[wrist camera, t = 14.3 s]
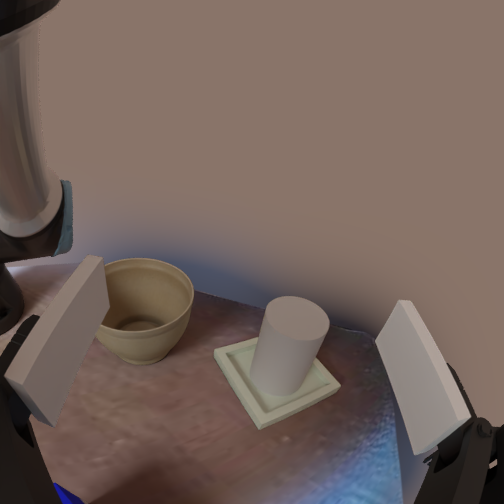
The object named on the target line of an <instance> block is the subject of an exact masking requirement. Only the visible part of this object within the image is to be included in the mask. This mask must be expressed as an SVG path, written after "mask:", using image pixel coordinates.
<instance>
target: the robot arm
mask: <svg viewBox="0 0 504 504" xmlns="http://www.w3.org/2000/svg"><path fill="white" fill-rule="evenodd" d="M60 1H61V0H0V335H1V334H3V333H4V332H6V331H7V330H9V329H10V328H11V327H12V326H13V325H14V324H15V323H16V322H17V321H18V320H19V318H20V316H21V315H22V312H23V309H24V298H23V295H22V292H21V289H20V287H19V285H18V284H17V283H16V281H15V280H14V278H13V277H12V275H11V274H10V272H9V271H8V270H7V268H6V266H5V264H4V263H8V262H14V261H21V260H27V259H33V258H40V257H46V256H51V257H54V256H56V255H58V254H63V253H67V252H68V251H69V250H70V249H71V247H72V243H73V227H72V225H73V224H72V223H73V222H72V221H73V204H72V186H71V183H70V182H69V181H64V180H60V179H59V178H58V176H57V174H56V173H55V172H54V171H53V170H52V169H51V168H49V167H47V161H46V155H45V149H44V141H43V133H42V125H41V113H40V100H39V78H38V77H39V74H38V61H39V59H38V58H39V57H38V56H39V34H40V23H41V22H42V21H43V20H44V19H45V18H46V17H47V16H48V15H49V14H50V13H51V12H52V11H53V10H55V9H56V7H57V6H58V5H59V3H60ZM109 308H110V305H109V298H108V292H107V285H106V277H105V269H104V261H103V257H99V256H93V255H87V256H86V257H85V259H84V260H83V261H82V262H81V264H80V265H79V266H78V267H77V269H76V270H75V271H74V272H73V274H72V275H71V276H70V277H69V279H68V280H67V281H66V283H65V284H64V285H63V287H62V288H61V289H60V291H59V292H58V293H57V295H56V296H55V297H54V299H53V300H52V301H51V303H50V304H49V306H48V307H47V308H46V310H45V311H44V313H43V314H42V316H41V317H40V316H37V315H34V314H33V315H32V316H30V317H29V318H28V319H26V320H25V321H24V322H23V323H22V324H21V326H20V327H19V328H18V330H17V331H16V334H14V336H13V337H12V339H11V342H9V343H8V345H7V347H6V348H5V350H4V351H3V353H2V355H1V356H0V504H63V503H62V501H61V499H60V497H59V495H58V493H57V491H56V488H55V486H54V484H53V482H52V480H51V477H50V475H49V473H48V470H47V468H46V465H45V463H44V460H43V458H42V455H41V452H40V449H39V447H38V444H37V441H36V438H35V435H34V432H33V428H32V425H31V423H30V421H29V417H30V414H31V413H32V414H33V416H34V417H35V418H36V419H37V420H38V421H40V422H42V423H45V424H47V425H49V426H51V427H54V428H55V425H56V423H57V420H58V417H59V415H60V412H61V410H62V407H63V405H64V402H65V400H66V398H67V395H68V393H69V390H70V388H71V386H72V384H73V381H74V379H75V377H76V375H77V372H78V370H79V368H80V366H81V364H82V361H83V359H84V357H85V355H86V353H87V351H88V349H89V347H90V345H91V343H92V341H93V339H94V337H95V335H96V333H97V331H98V329H99V327H100V325H101V323H102V321H103V319H104V317H105V315H106V313H107V311H108V310H109ZM375 342H376V345H377V347H378V350H379V352H380V355H381V358H382V360H383V363H384V366H385V368H386V371H387V374H388V376H389V379H390V382H391V385H392V387H393V390H394V393H395V396H396V399H397V402H398V405H399V407H400V411H401V414H402V417H403V420H404V423H405V426H406V430H407V433H408V436H409V439H410V443H411V446H412V449H413V453H414V455H418V454H421V453H425V452H428V451H429V450H430V449H432V448H434V447H435V446H436V445H437V446H438V450H437V451H436V452H434V453H433V454H431V455H430V456H429V457H427V458H426V459H425V460H424V461H423V463H426V462H427V461H429V460H430V459H432V461H431V462H429V463H428V464H427V465H429V469H428V472H427V474H426V476H425V479H424V481H423V484H422V486H421V488H420V491H419V493H418V495H417V497H416V500H415V502H414V504H504V424H503V425H502V426H501V427H492V426H491V424H490V423H489V421H487V420H486V419H485V418H481V417H480V418H477V416H476V414H475V412H474V409H473V407H472V405H471V403H470V401H469V398H468V396H467V394H466V392H465V390H463V386H462V384H461V383H460V380H459V378H458V376H457V374H456V372H455V370H454V369H453V368H452V367H451V366H450V365H449V364H448V363H446V362H445V360H444V358H443V356H442V354H441V353H440V351H439V349H438V347H437V345H436V344H435V342H434V340H433V338H432V336H431V334H430V332H429V331H428V329H427V327H426V325H425V324H424V322H423V320H422V319H421V317H420V315H419V313H418V312H417V310H416V309H415V307H414V305H413V304H412V302H411V301H406V300H398V302H397V304H396V306H395V308H394V309H393V311H392V313H391V315H390V317H389V319H388V320H387V322H386V324H385V326H384V327H383V329H382V330H381V332H380V334H379V335H378V337H377V339H376V340H375ZM496 459H497V465H496V466H494V467H493V468H491V469H490V468H489V464H490V463H492V462H493V461H494V460H496Z"/></svg>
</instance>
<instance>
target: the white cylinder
mask: <svg viewBox="0 0 504 504" xmlns="http://www.w3.org/2000/svg"><path fill="white" fill-rule="evenodd" d="M328 329H329V319H328V317H327V315H326V313H325V312H324V311H323V310H322V309H321V308H320V307H319V306H318V305H316V304H315V303H313V302H311V301H309V300H306V299H304V298H300V297H294V296H283V297H279V298H276V299H274V300H273V301H271V302H270V303H269V304H268V305H267V307H266V311H265V315H264V318H263V322H262V326H261V330H260V334H259V337H258V341H257V345H256V349H255V352H254V356H253V360H252V363H251V367H250V378H251V380H252V382H253V384H254V385H255V386H256V387H257V388H258V389H259V390H260V391H262V392H264V393H266V394H268V395H271V396H277V397H283V396H288V395H291V394H293V393H295V392H296V391H297V390H298V389H299V388H300V387H301V385H302V383H303V381H304V379H305V377H306V375H307V373H308V371H309V369H310V367H311V365H312V363H313V361H314V359H315V357H316V355H317V353H318V351H319V348H320V346H321V344H322V342H323V340H324V338H325V336H326V333H327V331H328Z"/></svg>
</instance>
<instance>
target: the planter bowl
mask: <svg viewBox="0 0 504 504" xmlns="http://www.w3.org/2000/svg"><path fill="white" fill-rule="evenodd" d="M104 269H105V277H106V285H107V292H108V298H109V305H110V308H109V310H108V311H107V313H106V315H105V317H104V319H103V321H102V323H101V325H100V327H99V329H98V331H97V333H96V335H95V336H96V337H97V339H98V340H99V341H100V342H101V343H102V344H103V345H104V346H105V347H106V348H107V349H109V350H110V351H111V352H113V353H114V354H116V355H118V356H119V357H120V358H121V359H123V360H124V361H126V362H128V363H131V364H135V365H148V364H153V363H155V362H158V361H159V360H161V359H162V358H164V357H165V356H166V355H167V354H168V352H169V350H170V349H172V348H173V347H174V346H175V345H176V343H177V342H178V341H179V339H180V338H181V336H182V335H183V333H184V331H185V329H186V327H187V324H188V321H189V318H190V314H191V307H192V304H193V300H194V288H193V285H192V282H191V280H190V279H189V277H188V276H187V275H186V274H185V273H184V272H183V271H182V270H180V269H179V268H177V267H175V266H173V265H171V264H169V263H166V262H163V261H160V260H155V259H149V258H129V259H122V260H118V261H114V262H111V263H108V264H106V265H104Z"/></svg>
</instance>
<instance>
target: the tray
mask: <svg viewBox="0 0 504 504" xmlns="http://www.w3.org/2000/svg"><path fill="white" fill-rule="evenodd" d="M257 341H258V337H257V338H253V339H250V340H247V341H243V342H239V343H236V344H232V345H229V346H225V347H221V348H217V349H215V350H214V358H215V360H216V362H217V363H218V365H219V367H220V368H221V370H222V372H223V374H224V375H225V377H226V379H227V380H228V382H229V384H230V385H231V387H232V389H233V390H234V392H235V393H236V395H237V397H238V398H239V400H240V401H241V403H242V405H243V406H244V408H245V409H246V411H247V412H248V414H249V416H250V417H251V419H252V420H253V422H254V423H255V425H256V426H257V428H258V429H259V430H260V429H263V428H265V427H267V426H270V425H272V424H274V423H276V422H279V421H281V420H283V419H285V418H287V417H289V416H292V415H294V414H296V413H298V412H300V411H302V410H304V409H306V408H308V407H310V406H312V405H314V404H316V403H318V402H319V401H321V400H323V399H325V398H327V397H329V396H331V395H332V394H334V393H336V392H337V391H338V389H339V388H340V386H341V385H340V384H339V383H338V382H337V380H336V379H335V378H334V377H333V376H332V375H331V374H330V373H329V371H328V370H327V369H326V368H325V367H324V366H323V365H322V364H321V362H320V361H319V360H318V359H317V358H316V357H315V359H314V361H313V363H312V365H311V367H310V369H309V371H308V373H307V375H306V377H305V379H304V381H303V383H302V385H301V387H300V388H299V389H298V390H297V391H296V392H295V393H293V394H291V395H288V396H283V397H277V396H271V395H268V394H266V393H264V392H262V391H260V390H259V389H258V388H257V387H256V386H255V385H254V384H253V382H252V380H251V378H250V367H251V363H252V360H253V356H254V352H255V349H256V345H257Z"/></svg>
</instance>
